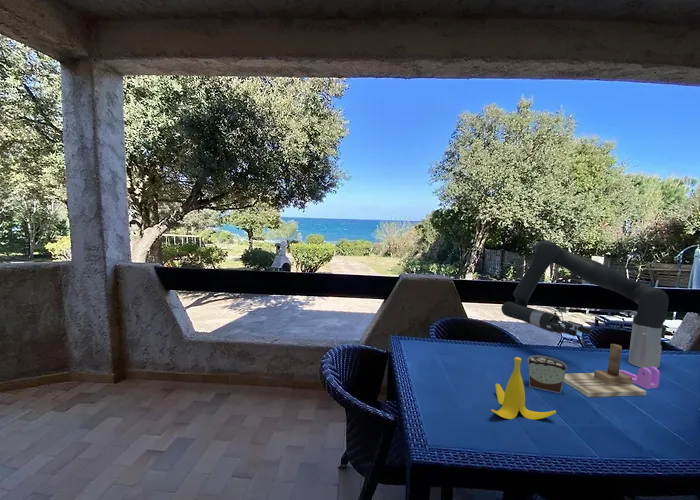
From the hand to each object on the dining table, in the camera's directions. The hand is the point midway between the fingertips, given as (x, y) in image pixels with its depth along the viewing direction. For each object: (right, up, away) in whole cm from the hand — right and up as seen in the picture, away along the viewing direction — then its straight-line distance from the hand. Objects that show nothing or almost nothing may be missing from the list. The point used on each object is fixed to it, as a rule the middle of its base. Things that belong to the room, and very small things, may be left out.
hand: (583, 332), depth 129 cm
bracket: (+16, -17, -3) cm, 24 cm away
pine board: (-1, -17, -10) cm, 19 cm away
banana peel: (-43, -17, -29) cm, 55 cm away
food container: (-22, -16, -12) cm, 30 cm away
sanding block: (+4, -15, -9) cm, 18 cm away
